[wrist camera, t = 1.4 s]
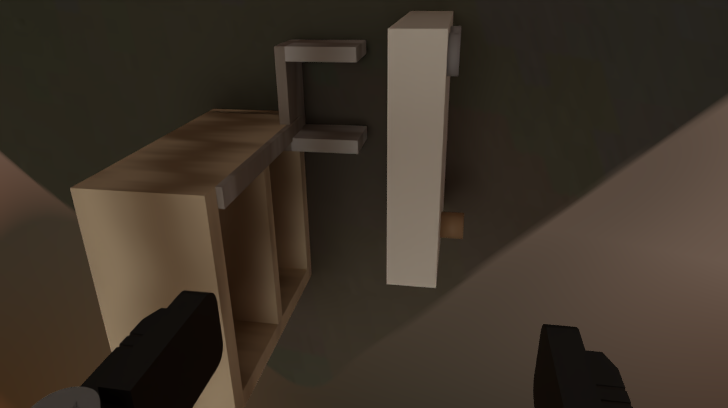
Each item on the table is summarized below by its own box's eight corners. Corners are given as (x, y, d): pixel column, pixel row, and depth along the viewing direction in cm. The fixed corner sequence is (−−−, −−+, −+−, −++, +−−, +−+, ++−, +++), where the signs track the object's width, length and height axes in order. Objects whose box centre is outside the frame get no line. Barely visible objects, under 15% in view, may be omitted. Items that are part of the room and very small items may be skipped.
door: (410, 11, 30) (387, 28, 21) (475, 10, 30) (479, 28, 21) (406, 203, 35) (386, 284, 26) (462, 206, 35) (460, 290, 26)
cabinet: (233, 268, 40) (125, 407, 27) (204, 38, 33) (42, 81, 21) (368, 279, 38) (320, 433, 25) (366, 39, 31) (299, 87, 19)
